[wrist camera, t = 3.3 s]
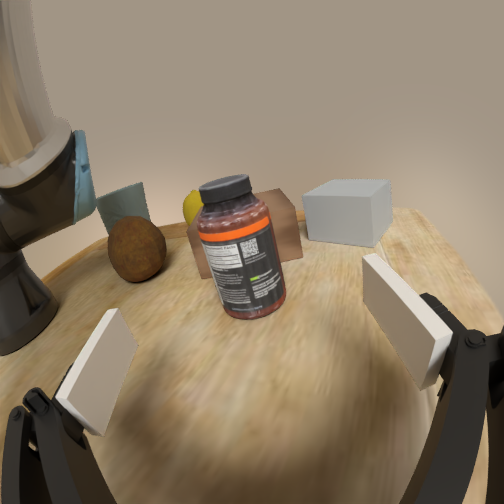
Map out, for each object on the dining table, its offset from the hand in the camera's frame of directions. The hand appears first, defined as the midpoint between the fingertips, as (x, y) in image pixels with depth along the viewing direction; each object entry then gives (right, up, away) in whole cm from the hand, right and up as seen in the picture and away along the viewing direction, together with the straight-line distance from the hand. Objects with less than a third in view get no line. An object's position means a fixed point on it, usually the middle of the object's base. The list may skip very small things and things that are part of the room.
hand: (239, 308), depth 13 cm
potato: (-15, 0, +24) cm, 28 cm away
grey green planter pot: (-22, +4, +38) cm, 44 cm away
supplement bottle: (+1, -2, +11) cm, 12 cm away
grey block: (+14, +6, +21) cm, 26 cm away
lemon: (-8, +6, +35) cm, 36 cm away
